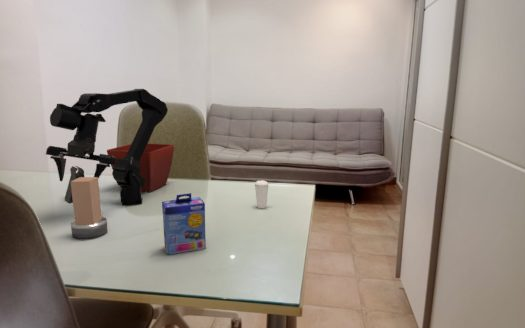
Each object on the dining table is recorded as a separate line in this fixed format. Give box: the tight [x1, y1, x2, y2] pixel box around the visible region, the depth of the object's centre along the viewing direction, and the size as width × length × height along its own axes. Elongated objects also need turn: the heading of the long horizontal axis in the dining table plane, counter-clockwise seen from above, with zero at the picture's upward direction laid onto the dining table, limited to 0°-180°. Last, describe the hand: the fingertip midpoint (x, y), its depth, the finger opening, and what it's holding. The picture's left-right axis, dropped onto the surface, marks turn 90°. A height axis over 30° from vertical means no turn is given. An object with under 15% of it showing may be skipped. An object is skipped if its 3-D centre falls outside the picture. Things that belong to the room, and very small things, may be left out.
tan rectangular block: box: [71, 176, 103, 225], centre depth 103 cm, size 5×5×12 cm
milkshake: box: [254, 179, 270, 209], centre depth 126 cm, size 4×5×10 cm
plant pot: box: [106, 143, 175, 193], centre depth 152 cm, size 19×19×17 cm
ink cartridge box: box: [161, 192, 207, 256], centre depth 93 cm, size 10×6×14 cm, turn 114°
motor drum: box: [70, 216, 109, 241], centre depth 104 cm, size 9×9×4 cm
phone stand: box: [64, 165, 85, 204], centre depth 137 cm, size 9×6×12 cm, turn 131°
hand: (77, 183), depth 116 cm, fingers open, 9 cm apart
